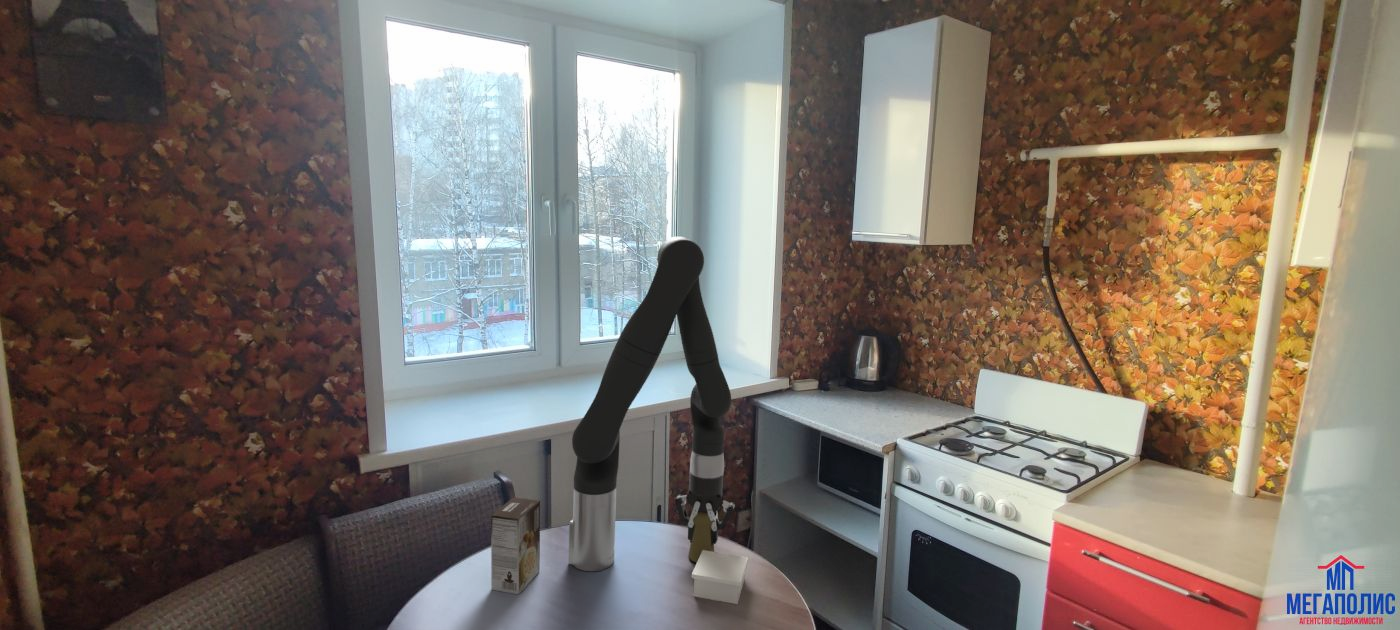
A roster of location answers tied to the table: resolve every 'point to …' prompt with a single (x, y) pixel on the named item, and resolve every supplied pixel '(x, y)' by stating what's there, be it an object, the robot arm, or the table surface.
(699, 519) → the cork
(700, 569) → the podium
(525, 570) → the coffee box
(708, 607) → the table surface
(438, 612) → the table surface
